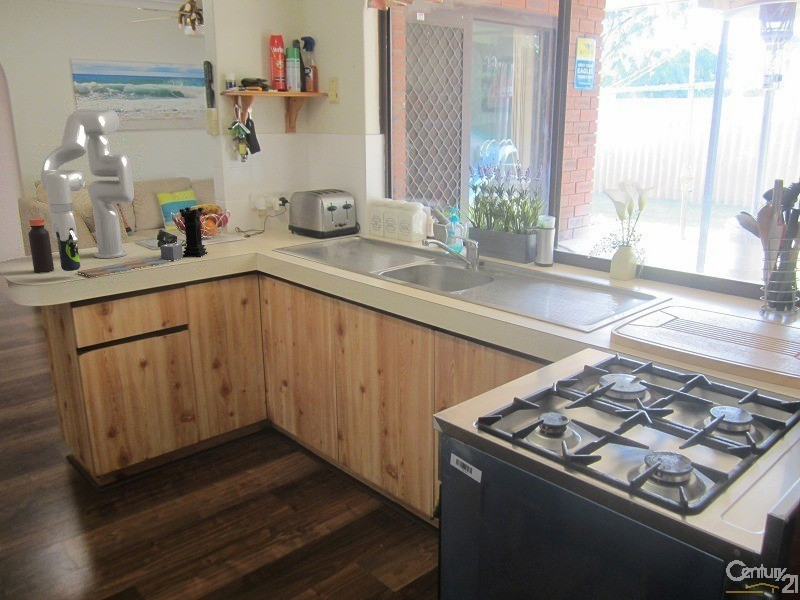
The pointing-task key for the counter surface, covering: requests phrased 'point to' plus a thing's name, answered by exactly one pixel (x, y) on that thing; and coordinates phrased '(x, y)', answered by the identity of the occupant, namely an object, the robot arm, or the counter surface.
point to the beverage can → (67, 263)
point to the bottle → (40, 246)
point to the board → (122, 267)
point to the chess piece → (193, 232)
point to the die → (171, 251)
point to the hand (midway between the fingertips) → (68, 257)
